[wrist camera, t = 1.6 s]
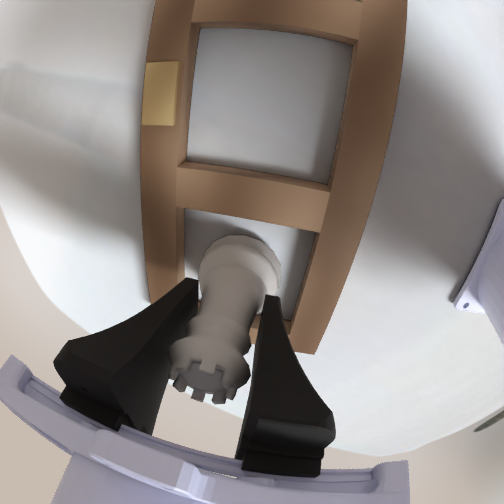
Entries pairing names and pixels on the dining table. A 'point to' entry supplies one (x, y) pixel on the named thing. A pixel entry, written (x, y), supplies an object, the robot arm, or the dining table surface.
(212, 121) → the dining table surface
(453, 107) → the dining table surface
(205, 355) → the rook chess piece
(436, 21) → the dining table surface
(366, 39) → the brown wooden flat frame
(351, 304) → the dining table surface
